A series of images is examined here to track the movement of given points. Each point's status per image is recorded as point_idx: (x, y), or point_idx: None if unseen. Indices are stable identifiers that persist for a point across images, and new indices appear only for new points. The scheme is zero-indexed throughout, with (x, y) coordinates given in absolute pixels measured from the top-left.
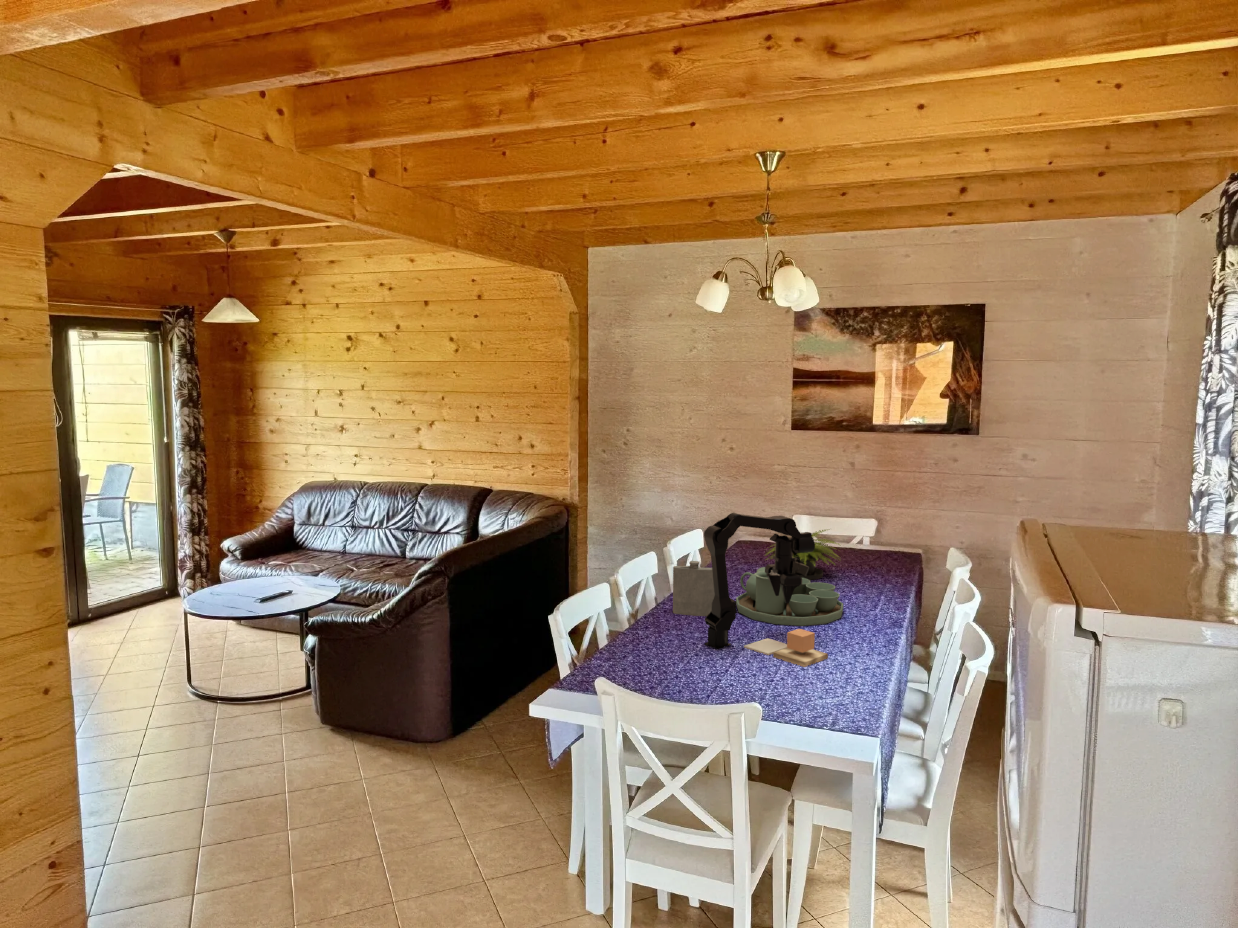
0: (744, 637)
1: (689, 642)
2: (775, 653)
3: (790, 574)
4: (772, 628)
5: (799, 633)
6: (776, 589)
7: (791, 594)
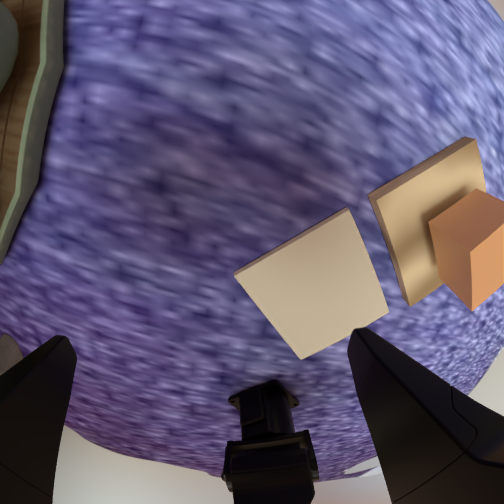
0: (196, 335)
1: (230, 430)
2: (416, 301)
3: None
4: (82, 206)
5: (498, 270)
6: (50, 402)
7: (445, 389)
